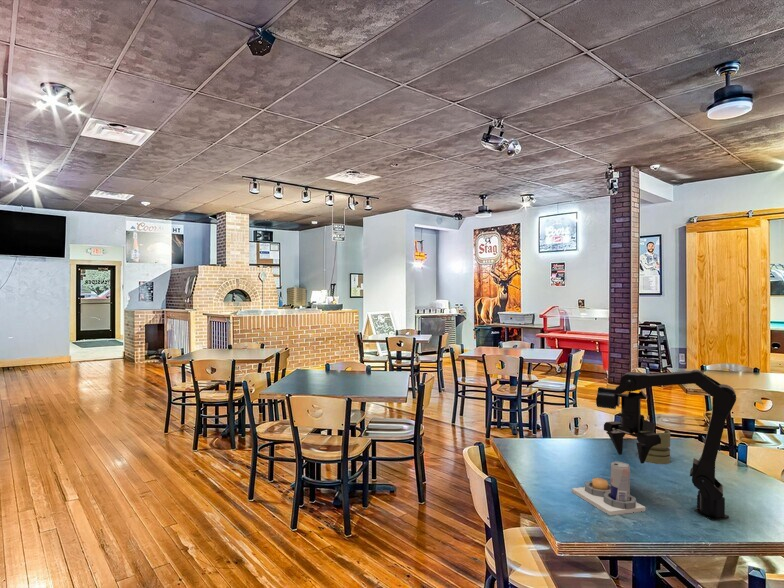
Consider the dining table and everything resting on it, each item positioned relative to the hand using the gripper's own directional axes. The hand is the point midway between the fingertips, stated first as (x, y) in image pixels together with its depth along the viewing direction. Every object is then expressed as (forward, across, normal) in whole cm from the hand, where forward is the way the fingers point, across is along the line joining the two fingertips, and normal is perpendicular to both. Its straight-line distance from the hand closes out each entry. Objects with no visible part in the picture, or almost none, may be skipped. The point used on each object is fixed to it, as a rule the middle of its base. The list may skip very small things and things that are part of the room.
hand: (631, 458), depth 155 cm
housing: (+12, 0, +10) cm, 16 cm away
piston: (+13, +28, -39) cm, 50 cm away
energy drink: (+12, -5, +9) cm, 15 cm away
